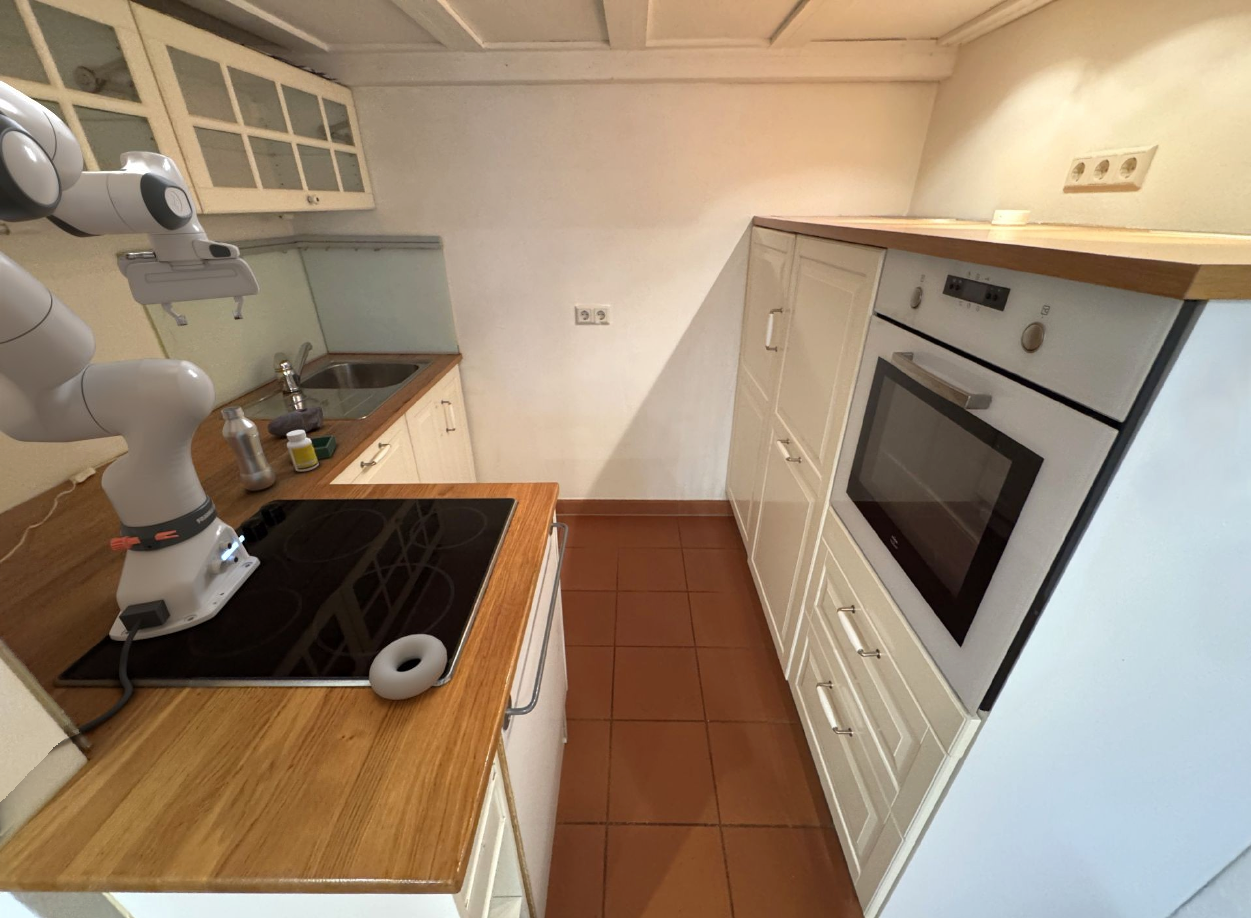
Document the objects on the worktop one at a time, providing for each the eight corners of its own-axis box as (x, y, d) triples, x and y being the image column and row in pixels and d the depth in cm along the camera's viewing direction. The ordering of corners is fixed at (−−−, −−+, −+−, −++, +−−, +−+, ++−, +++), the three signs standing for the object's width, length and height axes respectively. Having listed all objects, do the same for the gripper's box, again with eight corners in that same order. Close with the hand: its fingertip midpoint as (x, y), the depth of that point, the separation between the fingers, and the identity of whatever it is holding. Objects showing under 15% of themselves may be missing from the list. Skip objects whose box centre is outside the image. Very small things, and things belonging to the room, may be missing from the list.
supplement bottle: (323, 465, 130) (312, 430, 126) (304, 473, 126) (291, 438, 121) (310, 461, 132) (298, 427, 128) (290, 470, 128) (277, 435, 124)
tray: (330, 457, 134) (326, 447, 133) (292, 463, 132) (288, 452, 130) (336, 444, 142) (333, 435, 140) (301, 449, 139) (297, 439, 138)
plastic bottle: (239, 490, 119) (206, 411, 110) (269, 478, 124) (239, 402, 115) (255, 496, 116) (221, 416, 107) (284, 483, 121) (254, 406, 112)
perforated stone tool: (271, 442, 145) (263, 419, 142) (270, 436, 149) (262, 414, 146) (329, 428, 153) (322, 407, 150) (326, 424, 157) (319, 403, 154)
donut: (393, 720, 63) (463, 669, 69) (386, 702, 61) (458, 652, 68) (360, 678, 69) (427, 635, 75) (353, 660, 67) (422, 617, 74)
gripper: (108, 254, 90) (144, 332, 96) (245, 247, 100) (269, 318, 106) (116, 252, 95) (149, 326, 101) (245, 246, 104) (268, 313, 111)
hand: (211, 322), depth 103 cm, fingers open, 8 cm apart
